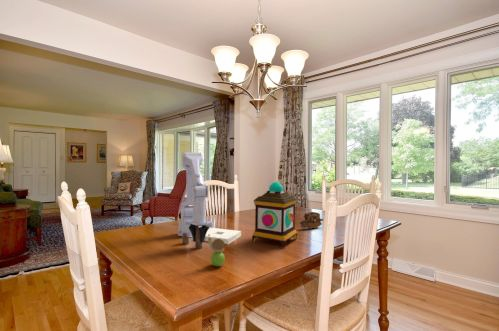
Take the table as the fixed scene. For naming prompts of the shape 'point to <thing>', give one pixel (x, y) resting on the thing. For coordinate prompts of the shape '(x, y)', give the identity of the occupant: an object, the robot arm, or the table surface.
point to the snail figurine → (217, 251)
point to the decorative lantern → (275, 215)
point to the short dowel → (185, 238)
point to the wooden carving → (311, 220)
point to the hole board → (222, 235)
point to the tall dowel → (198, 239)
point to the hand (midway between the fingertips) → (198, 241)
